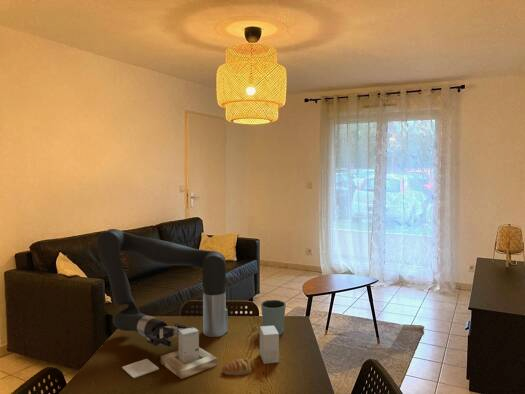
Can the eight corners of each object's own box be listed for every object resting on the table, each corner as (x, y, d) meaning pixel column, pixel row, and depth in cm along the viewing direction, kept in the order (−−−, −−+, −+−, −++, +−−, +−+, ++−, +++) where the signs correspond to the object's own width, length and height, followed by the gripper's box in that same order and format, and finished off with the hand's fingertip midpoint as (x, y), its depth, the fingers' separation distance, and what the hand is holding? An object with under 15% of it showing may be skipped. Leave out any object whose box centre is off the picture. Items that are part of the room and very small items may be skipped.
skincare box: (182, 369, 138) (182, 334, 137) (177, 363, 141) (177, 330, 141) (199, 364, 141) (199, 330, 140) (194, 359, 145) (194, 326, 144)
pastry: (225, 379, 132) (225, 367, 132) (219, 369, 138) (219, 358, 138) (252, 374, 136) (252, 362, 135) (245, 364, 142) (245, 354, 142)
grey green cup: (289, 330, 171) (289, 302, 170) (277, 339, 162) (277, 309, 161) (269, 325, 176) (269, 298, 175) (256, 333, 168) (256, 304, 167)
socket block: (195, 351, 151) (195, 344, 151) (217, 365, 141) (217, 358, 141) (160, 363, 142) (160, 356, 142) (181, 379, 132) (181, 371, 131)
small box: (279, 363, 143) (279, 333, 142) (263, 364, 142) (263, 334, 141) (274, 352, 151) (274, 325, 150) (259, 353, 150) (259, 325, 149)
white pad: (146, 359, 144) (146, 358, 144) (158, 369, 138) (158, 368, 138) (122, 367, 138) (122, 366, 138) (133, 378, 132) (133, 377, 132)
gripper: (135, 323, 148) (163, 335, 138) (167, 312, 159) (195, 323, 149) (135, 343, 148) (163, 357, 138) (167, 331, 159) (195, 343, 149)
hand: (180, 339), depth 143 cm, fingers open, 8 cm apart
